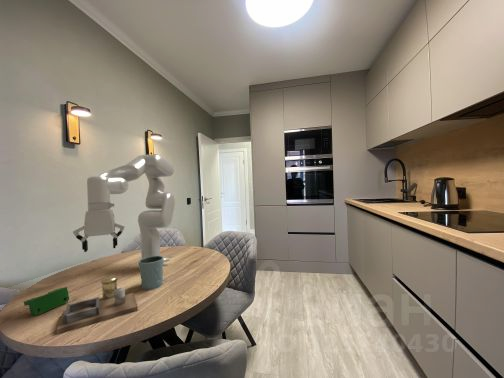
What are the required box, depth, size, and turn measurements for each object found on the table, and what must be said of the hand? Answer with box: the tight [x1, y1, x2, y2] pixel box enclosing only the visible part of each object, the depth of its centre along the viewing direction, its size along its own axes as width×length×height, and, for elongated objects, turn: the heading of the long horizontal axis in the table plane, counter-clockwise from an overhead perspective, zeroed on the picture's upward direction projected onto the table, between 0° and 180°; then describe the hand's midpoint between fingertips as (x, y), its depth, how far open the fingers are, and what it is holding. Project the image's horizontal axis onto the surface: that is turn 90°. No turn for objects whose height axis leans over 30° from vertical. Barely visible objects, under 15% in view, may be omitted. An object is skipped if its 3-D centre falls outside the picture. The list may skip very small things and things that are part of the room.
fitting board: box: [56, 287, 139, 335], centre depth 80 cm, size 22×13×6 cm, turn 123°
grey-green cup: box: [138, 255, 164, 291], centre depth 101 cm, size 10×10×12 cm
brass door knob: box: [100, 274, 119, 301], centre depth 91 cm, size 6×6×8 cm
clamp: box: [23, 286, 70, 316], centre depth 85 cm, size 12×6×9 cm, turn 154°
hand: (100, 249), depth 91 cm, fingers open, 9 cm apart
